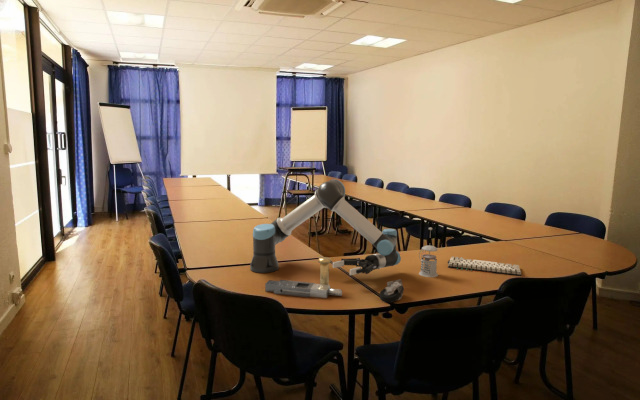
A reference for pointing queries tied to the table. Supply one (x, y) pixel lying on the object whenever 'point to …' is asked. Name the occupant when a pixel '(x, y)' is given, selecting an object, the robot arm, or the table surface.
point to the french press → (428, 270)
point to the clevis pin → (324, 270)
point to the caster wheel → (392, 291)
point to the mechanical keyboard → (483, 266)
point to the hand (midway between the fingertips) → (341, 268)
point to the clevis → (301, 289)
